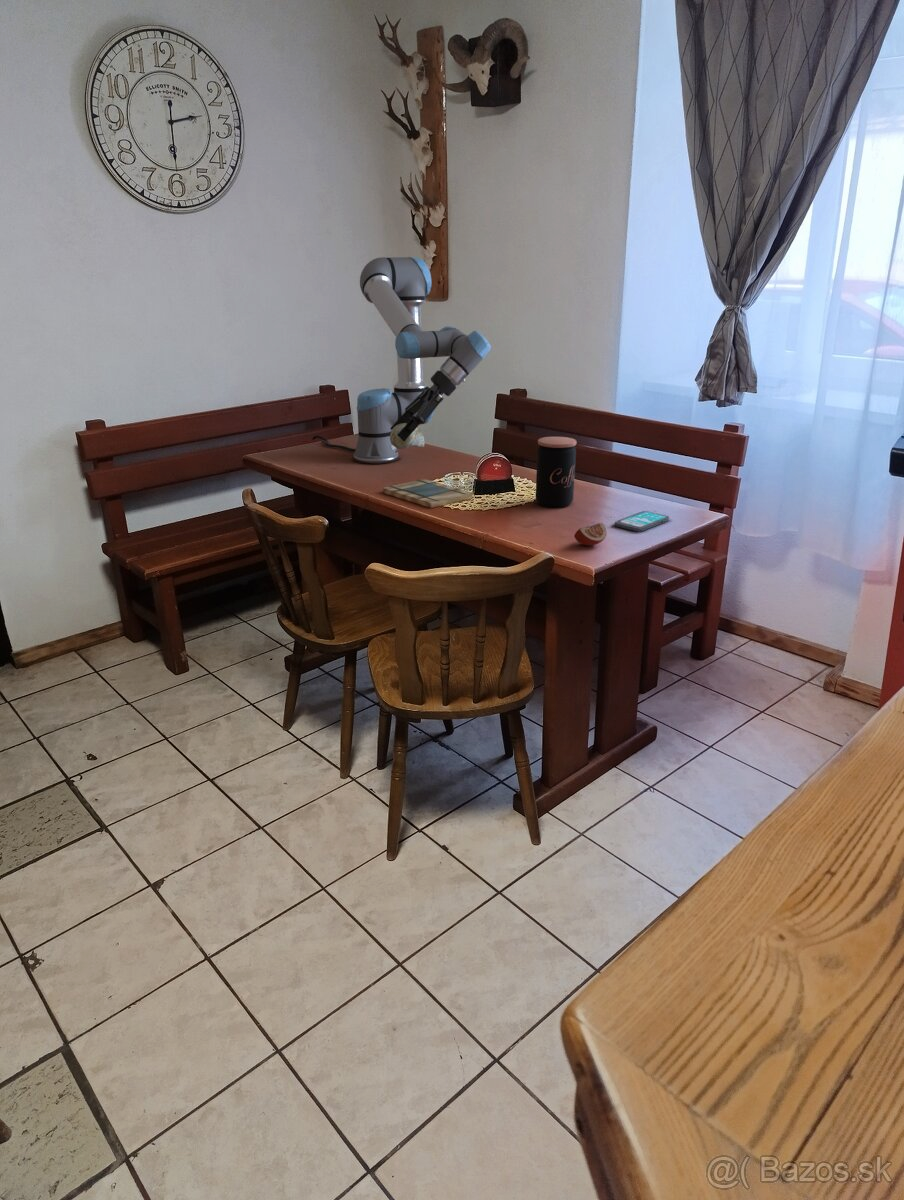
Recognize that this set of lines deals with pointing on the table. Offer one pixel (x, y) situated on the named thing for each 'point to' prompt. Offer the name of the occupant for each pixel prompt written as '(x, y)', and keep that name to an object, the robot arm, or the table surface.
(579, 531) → the fruit slice
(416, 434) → the seashell
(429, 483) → the board
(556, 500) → the coffee jar
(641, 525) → the smartphone
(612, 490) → the table surface
